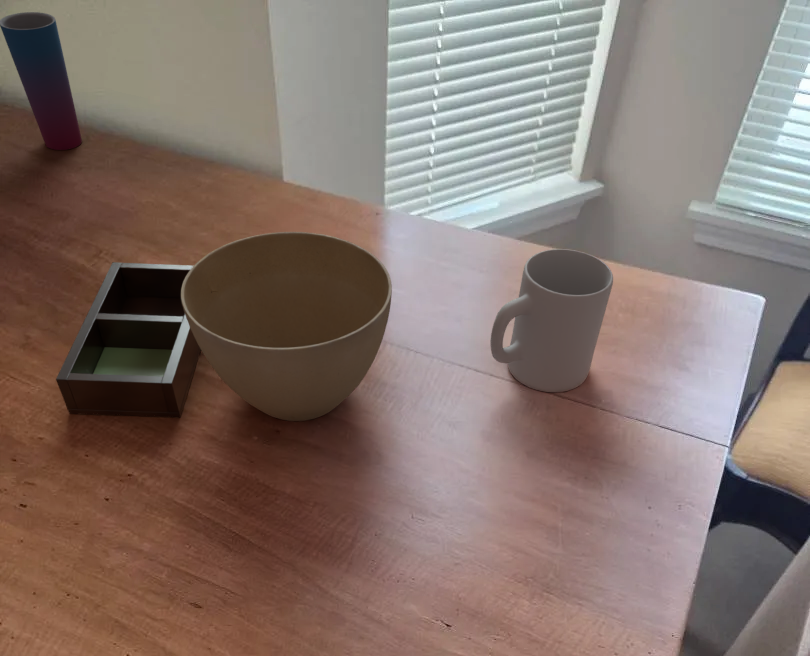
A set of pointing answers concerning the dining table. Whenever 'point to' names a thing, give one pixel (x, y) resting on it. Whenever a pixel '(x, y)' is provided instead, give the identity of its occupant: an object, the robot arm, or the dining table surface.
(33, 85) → the cup
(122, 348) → the divided storage box
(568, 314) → the mug
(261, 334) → the beige bowl
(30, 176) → the dining table surface
